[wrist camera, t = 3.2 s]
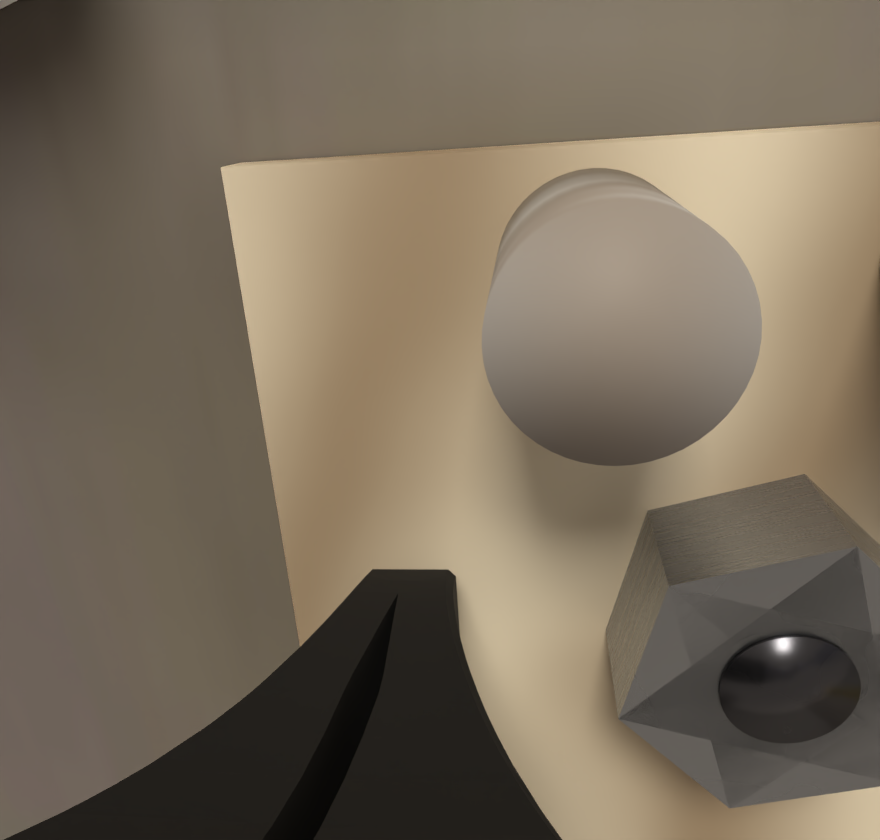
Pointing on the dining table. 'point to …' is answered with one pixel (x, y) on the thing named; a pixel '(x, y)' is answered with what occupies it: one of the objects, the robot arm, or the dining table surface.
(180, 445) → the dining table surface
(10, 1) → the hook
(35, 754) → the dining table surface
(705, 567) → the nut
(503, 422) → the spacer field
